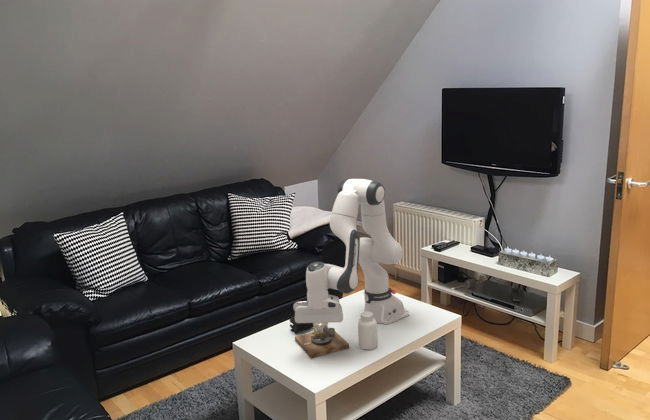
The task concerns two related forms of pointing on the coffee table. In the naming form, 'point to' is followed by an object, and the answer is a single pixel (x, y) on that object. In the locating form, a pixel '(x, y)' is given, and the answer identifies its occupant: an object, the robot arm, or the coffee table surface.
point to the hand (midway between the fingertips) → (319, 331)
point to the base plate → (320, 350)
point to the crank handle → (324, 332)
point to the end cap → (299, 326)
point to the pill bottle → (367, 331)
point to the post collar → (321, 341)
